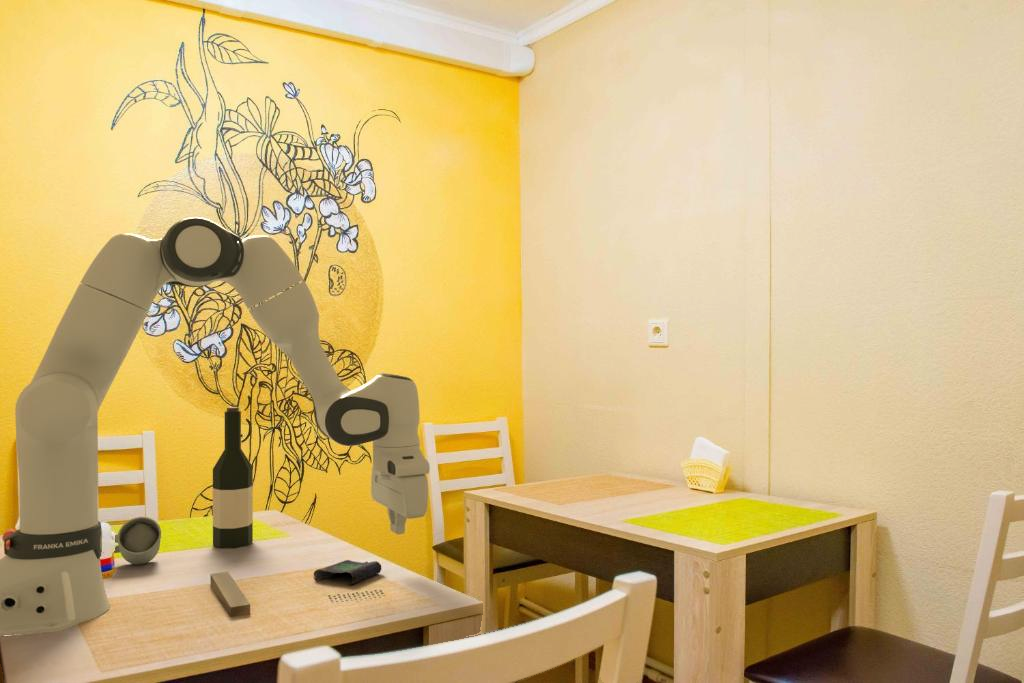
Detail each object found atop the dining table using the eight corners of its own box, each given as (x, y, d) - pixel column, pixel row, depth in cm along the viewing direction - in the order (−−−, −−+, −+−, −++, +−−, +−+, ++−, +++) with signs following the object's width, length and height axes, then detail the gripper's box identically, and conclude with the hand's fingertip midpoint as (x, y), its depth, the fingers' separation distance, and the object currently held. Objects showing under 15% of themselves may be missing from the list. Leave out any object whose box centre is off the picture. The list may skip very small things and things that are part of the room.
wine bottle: (211, 540, 177) (211, 406, 177) (250, 536, 181) (250, 405, 180) (214, 549, 170) (214, 409, 169) (255, 545, 173) (254, 408, 173)
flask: (312, 568, 145) (348, 557, 155) (312, 585, 145) (349, 572, 155) (353, 571, 141) (388, 559, 151) (353, 588, 141) (388, 575, 151)
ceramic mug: (150, 571, 159) (167, 536, 164) (149, 559, 153) (167, 522, 158) (96, 555, 158) (115, 519, 162) (94, 542, 151) (113, 505, 156)
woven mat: (383, 599, 140) (383, 587, 140) (397, 619, 130) (397, 606, 130) (323, 606, 136) (323, 594, 136) (332, 627, 126) (332, 614, 126)
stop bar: (230, 626, 125) (230, 607, 125) (210, 590, 143) (210, 574, 143) (250, 623, 127) (250, 604, 127) (227, 588, 144) (227, 571, 144)
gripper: (362, 453, 157) (363, 523, 157) (400, 469, 139) (401, 547, 139) (392, 451, 160) (393, 519, 160) (433, 465, 142) (434, 542, 142)
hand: (397, 532), depth 150 cm, fingers closed
